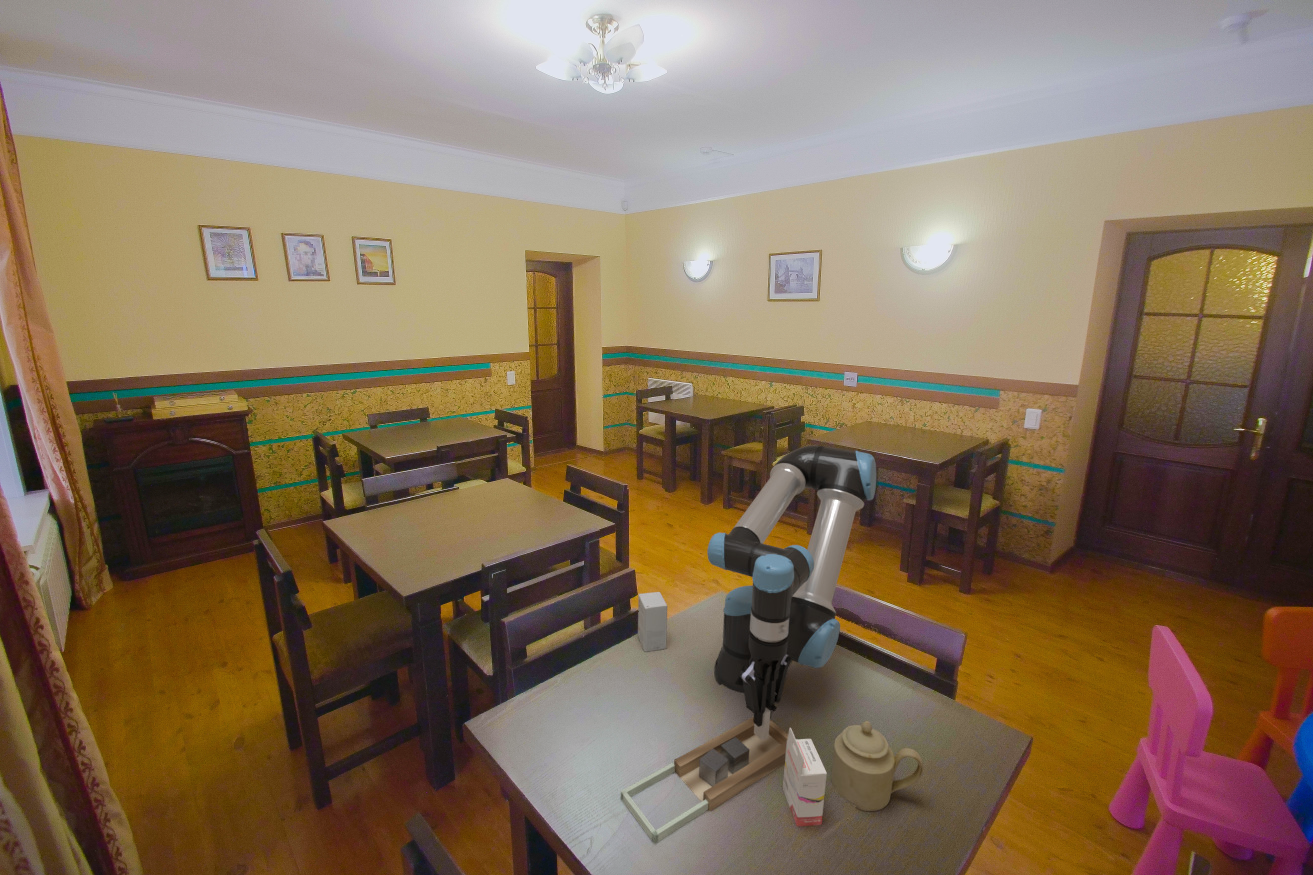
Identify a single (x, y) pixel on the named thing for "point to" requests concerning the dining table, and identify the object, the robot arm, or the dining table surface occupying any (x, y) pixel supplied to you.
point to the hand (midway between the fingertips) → (761, 735)
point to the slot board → (760, 764)
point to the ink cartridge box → (804, 781)
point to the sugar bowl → (868, 767)
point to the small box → (652, 621)
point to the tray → (652, 833)
